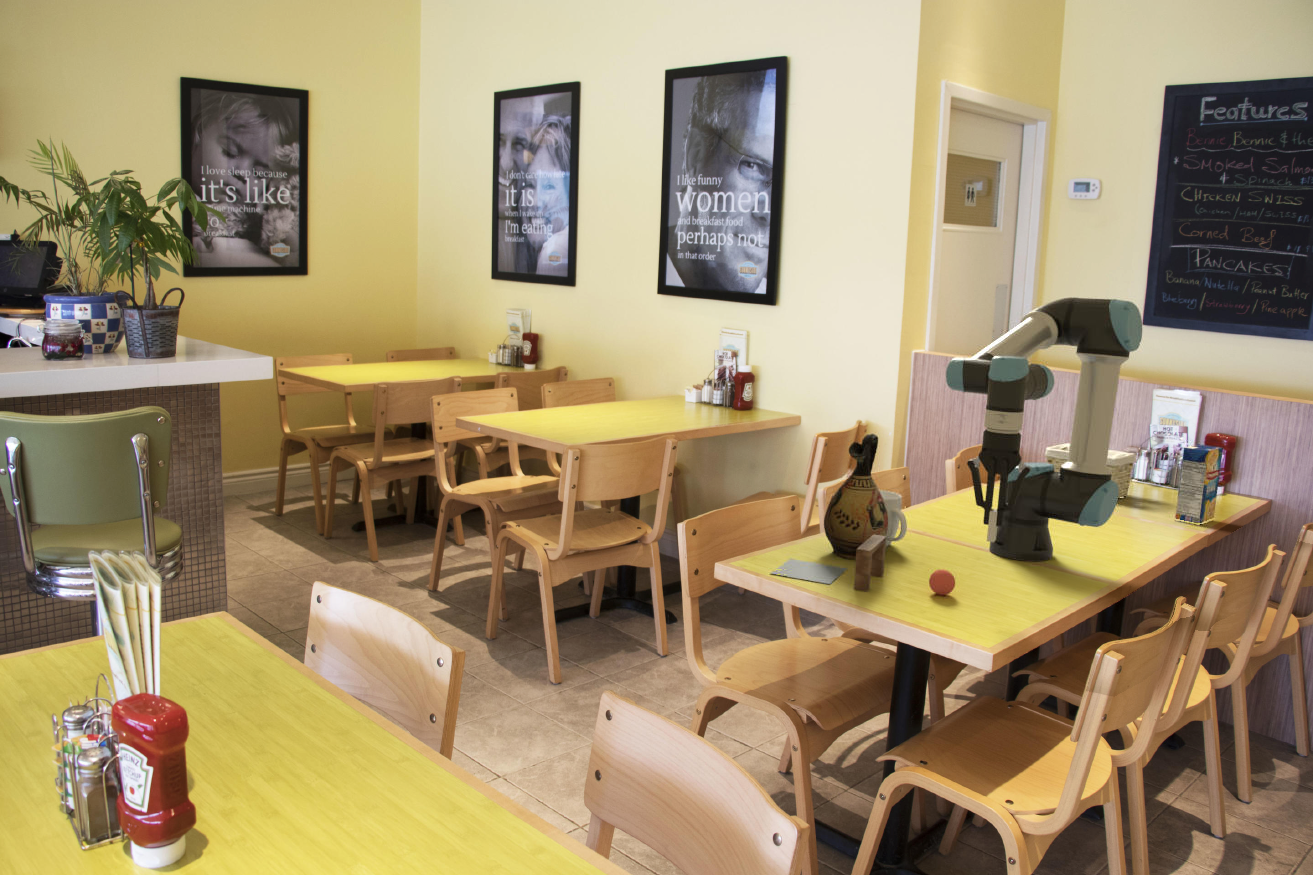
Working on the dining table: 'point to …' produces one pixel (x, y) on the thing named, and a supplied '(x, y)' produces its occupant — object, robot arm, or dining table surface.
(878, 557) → the bridge
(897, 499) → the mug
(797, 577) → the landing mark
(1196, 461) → the blue cardboard box
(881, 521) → the ceramic jug
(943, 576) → the ball
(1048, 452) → the storage basket
